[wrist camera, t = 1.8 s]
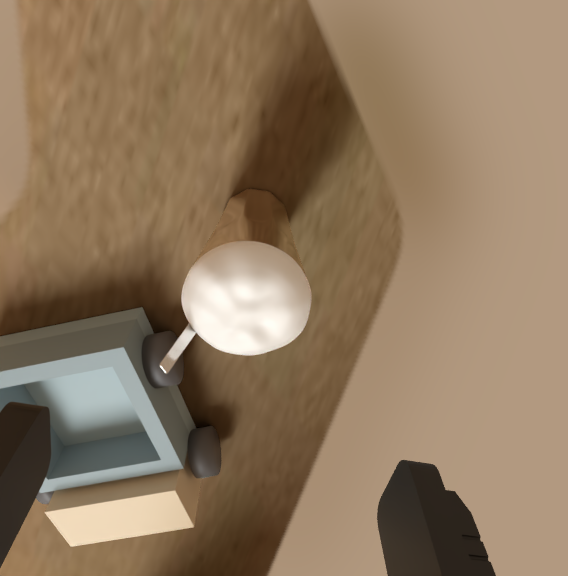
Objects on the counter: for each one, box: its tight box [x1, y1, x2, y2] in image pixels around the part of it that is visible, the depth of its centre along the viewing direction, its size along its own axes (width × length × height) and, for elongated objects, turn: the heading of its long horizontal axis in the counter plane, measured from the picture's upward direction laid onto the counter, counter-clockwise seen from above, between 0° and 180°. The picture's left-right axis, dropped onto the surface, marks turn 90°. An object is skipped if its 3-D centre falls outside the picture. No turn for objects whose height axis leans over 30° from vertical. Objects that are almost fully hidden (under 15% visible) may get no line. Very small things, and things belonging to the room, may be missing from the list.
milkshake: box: [160, 188, 311, 374], centre depth 19 cm, size 4×5×10 cm
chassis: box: [0, 307, 221, 547], centre depth 27 cm, size 13×11×5 cm
